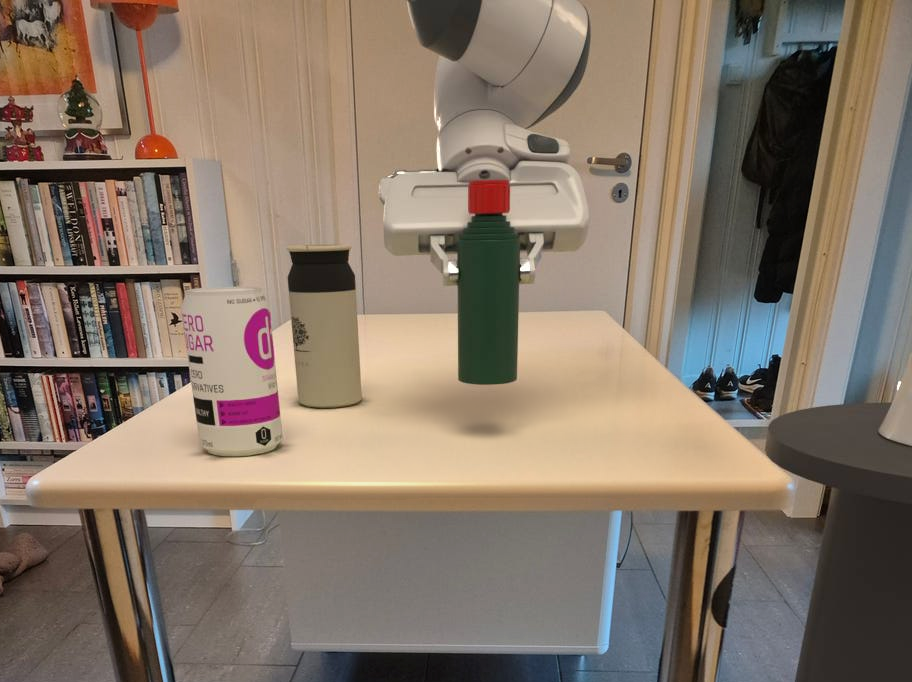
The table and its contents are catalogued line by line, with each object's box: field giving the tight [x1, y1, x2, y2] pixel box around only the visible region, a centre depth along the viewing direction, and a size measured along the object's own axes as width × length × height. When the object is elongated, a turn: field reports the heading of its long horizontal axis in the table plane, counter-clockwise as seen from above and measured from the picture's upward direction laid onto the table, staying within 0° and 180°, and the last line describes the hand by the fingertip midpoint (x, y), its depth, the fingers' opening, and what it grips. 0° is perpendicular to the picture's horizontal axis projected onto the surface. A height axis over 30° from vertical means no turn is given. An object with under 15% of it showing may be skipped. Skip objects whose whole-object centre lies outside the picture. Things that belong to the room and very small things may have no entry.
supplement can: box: [180, 285, 283, 457], centre depth 83 cm, size 8×8×15 cm
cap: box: [468, 180, 510, 214], centre depth 80 cm, size 4×4×3 cm
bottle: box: [456, 213, 521, 386], centre depth 83 cm, size 6×6×18 cm
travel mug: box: [286, 243, 363, 409], centre depth 104 cm, size 8×8×18 cm
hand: (489, 280), depth 82 cm, fingers closed on bottle, 6 cm apart
